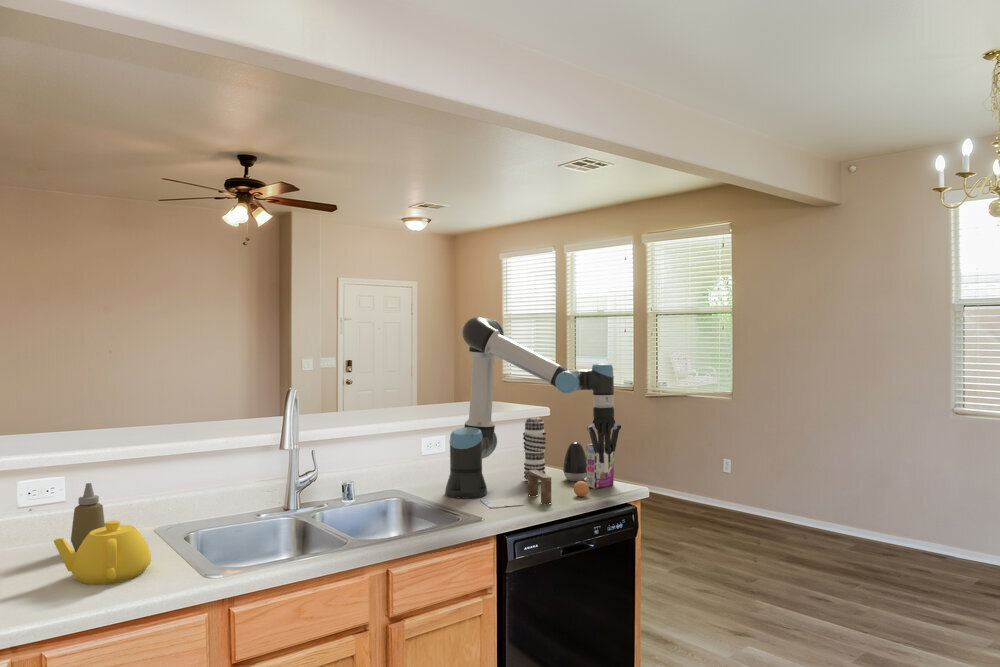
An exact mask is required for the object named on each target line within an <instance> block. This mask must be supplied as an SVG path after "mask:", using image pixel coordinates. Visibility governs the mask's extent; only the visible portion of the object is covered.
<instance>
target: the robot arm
mask: <svg viewBox="0 0 1000 667" xmlns="http://www.w3.org/2000/svg"><path fill="white" fill-rule="evenodd" d="M504 331H505V330H504V328H503V326H502V324H501V323H500V322H499V321H498V320H495V319H494V318H490V317H481V316H480V317H479V316H476V317H472V318H470V319H469V320H467V321H466V322H465V323H464V325H463V327H462V332H461V333H462V338H463V341H464V342H465V343H466V344H467V346H469V347H468V348H469V349H468V350H469V351H468V353H470V355H471V356H472V364H471V365H472V366H471V378H470V379H471V380H470V383H471V384H470V398H469V412H468V413H469V414H468V419H467V420H466V421H465V422H464V426H463V427H461V428H455V429H454V430H453V431H451V432H450V436H449V458H450V460H449V470H450V471H449V472H450V473H449V475H448V479H447V482H446V485H445V496H447V497H448V498H449V497H450V498H455V499H475V498H482V497H485V496H487V494H488V487H487V483H486V481H485V477H484V474H483V459H486V458H487V457H489V456H491V454H493V452H494V451H495V450H496V448H497V444H498V436H497V434H496V432H495V428H496V425H495V423H494V421H493V420H492V414H493V412H492V410H493V395H494V394H493V393H494V382H495V381H494V380H495V366H496V365H495V364H496V358H500V359H502V360H503V361H505V362H507V363H509V364H510V365H513V366H515V367H517V368H518V369H521V370H523V371H524V372H527V373H528V374H530V375H532V376H535V377H536V378H538V379H540V380H542V381H544V382H546V383H548V384H550V385H551V386H553V387H554V388H556V389H557V390H558V391H559V392H561V393H562V394H572V393H574V392H576V391H592V406H593V408H592V410H593V414H592V415H593V420H592V424H590V425H588V426H587V427H586V429H587V431H588V433H589V436H590V440H591V444H592V445H593V449H594V452H597V453H599V462H600V463H601V471H602V472H605V473H606V472H609V470H608V463H609V462H610V454H611V453H612V452H615V451H616V448H617V442H618V437H619V432H620V430H621V428H622V425H620V424H618V423H616V420H615V407H614V405H615V396H614V394H615V392H614V389H615V387H614V386H615V385H614V384H615V382H614V381H615V380H614V378H615V377H614V367H613V365H612V364H610V363H595V364H592V366H591V367H592V368H591V369H570V368H569V369H568V368H566V367H564V366H562V365H560V364H559V363H556V362H554V361H553V360H551V359H549V358H547V357H545V356H542V355H541V354H539V353H537V352H535V351H533V350H532V349H530V348H527V347H526V346H523V345H521V344H520V343H517V342H516V341H513V340H512V339H510V338H508V337H506V336H505V333H504ZM596 431H597V432H596ZM596 433H597V434H596ZM604 442H605V453H604Z"/></svg>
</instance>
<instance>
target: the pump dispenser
mask: <svg viewBox="0 0 1000 667" xmlns="http://www.w3.org/2000/svg"><path fill="white" fill-rule="evenodd" d="M586 466H587V453H586V451H585V449H584V447H583V445H582V444H581V443H580V442H577V441H573V442H571V443H570V444H569V445H568V447H567V448H566V452H565V454H564V459H563V464H562V472H563V475H564V477H565V478H566V479H567V480H568V481H570V482H578V481H583V480H586Z"/></svg>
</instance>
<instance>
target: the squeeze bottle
mask: <svg viewBox="0 0 1000 667" xmlns="http://www.w3.org/2000/svg"><path fill="white" fill-rule="evenodd" d="M99 500H100V497H99V495H95V493H94V488H93V485H92V482H88V483H85V488H84V492H83V496H80V497H78V502H77V503H78V505H76V506H75V507H74V510H73V516H72V517H73V518H72V526H71V536H70V542H71V545H72V547H73V550H74V552H77V550H78V549H79V547H80V545H81V544H82V542H83V541H84V539H85V538H86V536H87V535H88V534H89V533H90V532H91V531H93V530H95V529H98V528H102V527H105V523H106V522H105V514H104V506H103V504H102V503H100V502H99Z"/></svg>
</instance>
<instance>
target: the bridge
mask: <svg viewBox="0 0 1000 667" xmlns="http://www.w3.org/2000/svg"><path fill="white" fill-rule="evenodd" d="M538 479H540V480H541V483H540V504H541V503H542V504H549V503H551V504H552V477H551V476H549V475H548V474H546V473H545V474H544V473H542V472H540V471H538V470H528V482H527V483H528V488H527V489H528V492H527V494H528V495H530V496H536V495H538V496H539V483H538ZM530 496H529V497H530ZM536 497H537V496H536ZM542 504H541V505H542Z"/></svg>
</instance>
